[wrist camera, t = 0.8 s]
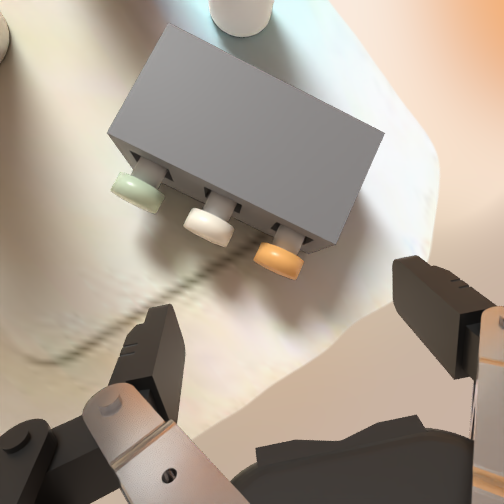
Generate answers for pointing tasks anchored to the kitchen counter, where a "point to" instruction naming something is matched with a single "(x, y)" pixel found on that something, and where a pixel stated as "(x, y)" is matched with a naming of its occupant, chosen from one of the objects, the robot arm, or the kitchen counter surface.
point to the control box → (245, 139)
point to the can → (241, 15)
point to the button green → (141, 185)
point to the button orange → (282, 253)
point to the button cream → (212, 220)
